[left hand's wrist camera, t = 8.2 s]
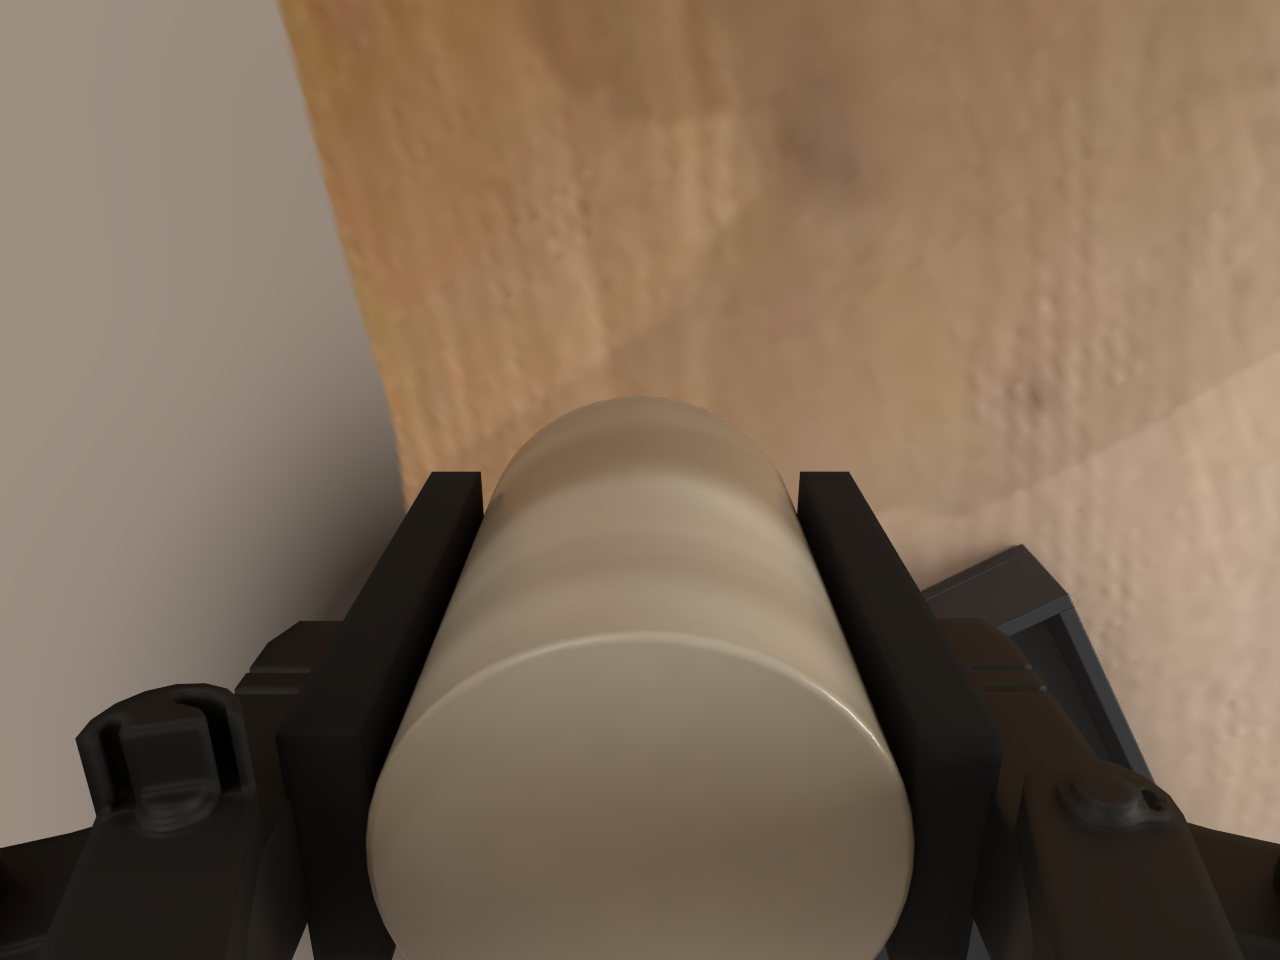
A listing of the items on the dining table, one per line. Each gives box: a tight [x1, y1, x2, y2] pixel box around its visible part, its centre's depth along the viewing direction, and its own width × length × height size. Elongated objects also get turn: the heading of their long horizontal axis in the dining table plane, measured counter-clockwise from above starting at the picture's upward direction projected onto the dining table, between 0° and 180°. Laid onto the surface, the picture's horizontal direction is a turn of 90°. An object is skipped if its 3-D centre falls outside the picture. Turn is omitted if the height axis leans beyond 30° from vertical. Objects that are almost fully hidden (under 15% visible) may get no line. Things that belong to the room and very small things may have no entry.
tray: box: [874, 544, 1155, 960], centre depth 31 cm, size 23×13×9 cm, turn 30°
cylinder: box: [366, 396, 915, 960], centre depth 12 cm, size 5×5×7 cm
